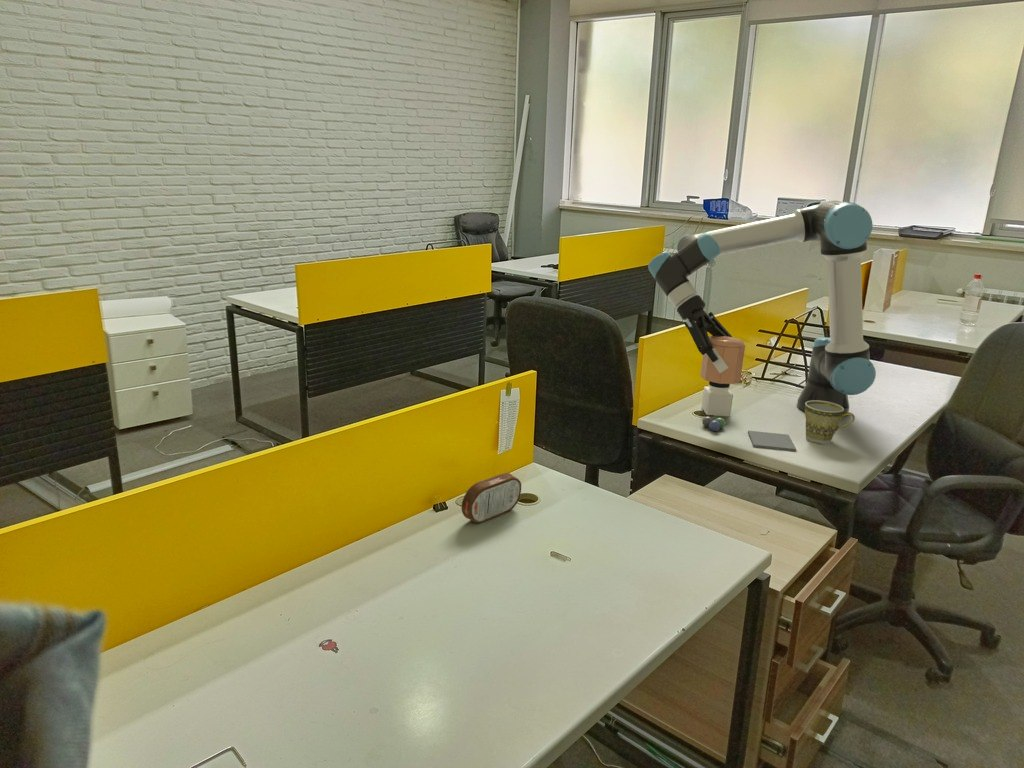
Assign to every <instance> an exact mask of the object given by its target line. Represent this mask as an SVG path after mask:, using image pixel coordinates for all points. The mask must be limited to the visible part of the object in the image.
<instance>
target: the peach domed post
mask: <svg viewBox="0 0 1024 768" xmlns="http://www.w3.org/2000/svg"><path fill="white" fill-rule="evenodd" d="M709 339H710V342H711V345H712V349H713V348H715V349H716V350H717V352H718V353H719V355H720V356H721V358H722V359H723V360H724V362H725V363H726V365H727V366H728V368H727V369H726V370H725V371H723V372H722V373H719V372H718V370H717V369H716V367H715V366H714V364H713V363H712V361H711V360H710V359H709V357H708V356H707V354H704V355H702V359H701V360H702V361H701V369H700V377H701V378H703V380H704V381H707V382H709V381H711V382H715V383H720V384H730V385H735V384H737V383H739V382H740V381H741V376H742V370H743V363H744V361H743V359H744V357H745V351H746V350H745V349H746V344H745V341H744V340H743V339H741V338H737V337H733V336H732V337H727V336H712V335H711V336H709Z"/></svg>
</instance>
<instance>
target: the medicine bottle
mask: <svg viewBox="0 0 1024 768" xmlns="http://www.w3.org/2000/svg"><path fill="white" fill-rule="evenodd" d="M730 385H731V384H720V383H715V382H711V381H708V386H706V385H705V386H704V387H703V392H702V401H701V410H704V411H703V412H704V413H705V415H706V416H710V415H714V417H715V416H716V417H731V410H732V405H733V404H732V403H733V398H734V394H733V393H732V391H730Z"/></svg>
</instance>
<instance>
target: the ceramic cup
mask: <svg viewBox="0 0 1024 768" xmlns="http://www.w3.org/2000/svg"><path fill="white" fill-rule="evenodd" d="M843 411H844V408H843V407H842V406H840V405H838V404H835V403H832V402H827V401H820V400H811V401H807V402H806V403H805V411H804V415H805V416H804V418H805V439H806V440H807V441H809V442H811V443H815V444H819V445H827V444H831V442H832V440H833V437H834V436H835V434H836V432H837V431H838V430H840V429H842V428H843V427H845V426H848V425H850V424H852V423H853V422H855V415H854V413H852V412H846V413H843ZM846 415H847V416H851V417H852V420H851V421H848V422H847V423H844V424H841V425H840V426H838V425H839V423H840V421H841V420H842V419H843V418H844V417H846Z"/></svg>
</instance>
